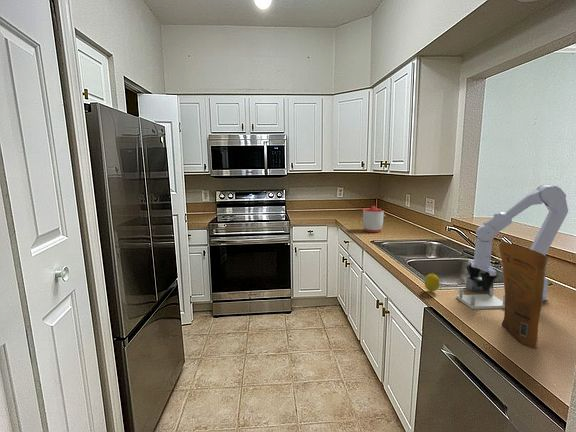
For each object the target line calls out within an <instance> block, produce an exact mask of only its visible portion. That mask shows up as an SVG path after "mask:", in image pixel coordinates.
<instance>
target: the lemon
mask: <svg viewBox="0 0 576 432" xmlns="http://www.w3.org/2000/svg"><path fill="white" fill-rule="evenodd" d="M440 283H441V282H440V279H439V277H438V275H436V274H434V273H433V272H432V273H429V274H427V275H426V276H425V279H424V287H425V288H426V289H427V291H429V292H431V293H432V292H436V291H437V290H438V289H439V287H440V285H441V284H440Z"/></svg>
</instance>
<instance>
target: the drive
mask: <svg viewBox="0 0 576 432" xmlns="http://www.w3.org/2000/svg"><path fill="white" fill-rule="evenodd" d="M494 281H495V279H494V280H493V282H492V284H491V286H490V288H494ZM490 288H489V290H483V289H482V277H481V276H478V277H470V276H467V277H466V280H465V289H466V290H468V291H470V292H471V293H481V292H483V293H484V292H486V293H487V292H488V293H489V292H490Z"/></svg>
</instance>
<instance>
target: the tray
mask: <svg viewBox="0 0 576 432" xmlns="http://www.w3.org/2000/svg"><path fill="white" fill-rule="evenodd" d="M456 299H458V300H459V301H460V302H462V303H463V304H464V305H466V306H467V307H469V308H470V309H472V310H485V309H487V310H489V309H493V310H494V309H505V294H504V295H503V297H502V299H500V298H498V297H496V296H495V295H494V287H493V288H490V291H489V294H487V293H486V294H485V293H483V294H482V293H481V294H464V288H459V294H456Z"/></svg>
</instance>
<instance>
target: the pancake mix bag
mask: <svg viewBox="0 0 576 432" xmlns="http://www.w3.org/2000/svg"><path fill="white" fill-rule="evenodd" d="M498 250H499V254H500V258H501V259H500V260H501V269H502V276H503V287H504V295H505V308H504V317H503V320H502V322H501V327H502V328H503V329H504V330H506V331H507V332H508V333H509V334H510V335H511V336H512V337H514V339H516V340H517V342H518V343H520V344H522V345H524V346H526V347H530V348H533V349H536V350H537V349H538V347H537V346H538V340H539V339H538V337H539V336H538V335H539V333H538V332H539V322H540V317H541V311H542V305H543V301H544V300H543V290H544V279H545V277H546V272H547V271H546V270H547V264H548V260H549V257H548V256H547V255H543V254H541V253H539V252H536V251H534V250H531V249H530V248H528V247H523V246H520V245H516V244H513V243H510V242H507V241H506V240H502V241H501V242H499V244H498Z"/></svg>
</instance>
